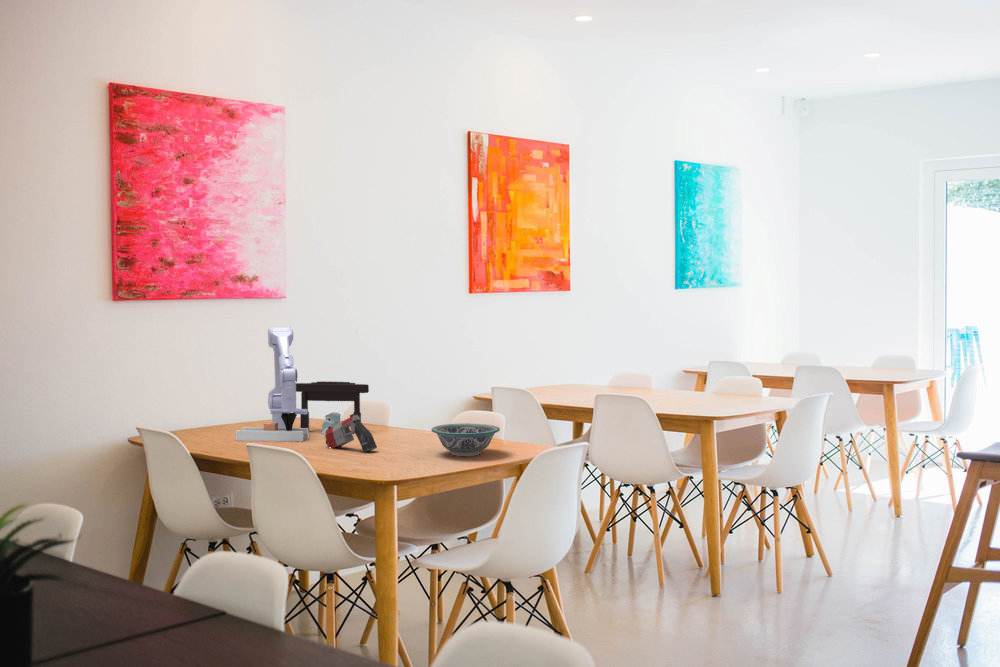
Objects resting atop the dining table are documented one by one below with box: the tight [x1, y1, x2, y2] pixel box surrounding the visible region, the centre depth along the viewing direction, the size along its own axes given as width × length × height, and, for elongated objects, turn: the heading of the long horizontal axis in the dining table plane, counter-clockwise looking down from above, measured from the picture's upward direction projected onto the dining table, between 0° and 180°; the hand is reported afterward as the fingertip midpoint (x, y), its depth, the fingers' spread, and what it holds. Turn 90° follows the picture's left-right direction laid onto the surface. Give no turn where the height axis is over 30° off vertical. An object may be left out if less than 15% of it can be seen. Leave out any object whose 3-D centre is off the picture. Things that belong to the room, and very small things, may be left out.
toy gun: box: [324, 413, 378, 453], centre depth 363 cm, size 5×22×15 cm, turn 56°
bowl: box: [431, 422, 501, 457], centre depth 353 cm, size 25×25×10 cm
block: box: [263, 421, 278, 431], centre depth 385 cm, size 4×4×4 cm
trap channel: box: [235, 427, 309, 442], centre depth 385 cm, size 8×27×4 cm, turn 86°
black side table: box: [296, 380, 370, 435], centre depth 404 cm, size 16×21×33 cm
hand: (289, 432), depth 385 cm, fingers closed
